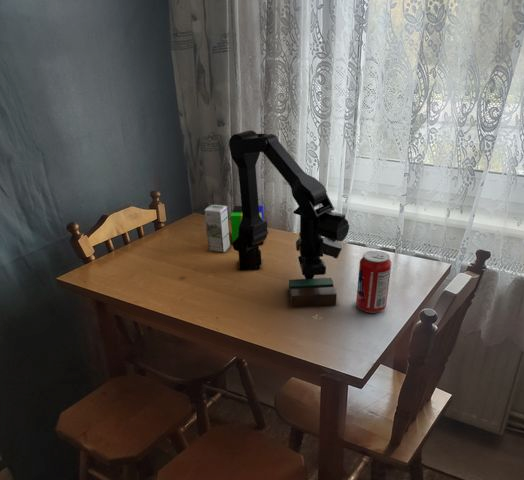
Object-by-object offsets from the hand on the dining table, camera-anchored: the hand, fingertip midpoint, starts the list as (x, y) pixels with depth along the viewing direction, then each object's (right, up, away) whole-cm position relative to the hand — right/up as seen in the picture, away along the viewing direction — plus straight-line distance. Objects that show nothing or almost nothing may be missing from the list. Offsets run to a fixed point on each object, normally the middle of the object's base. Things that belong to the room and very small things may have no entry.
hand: (309, 283), depth 141 cm
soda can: (+15, -8, -10) cm, 20 cm away
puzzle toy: (-18, +19, +32) cm, 42 cm away
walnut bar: (0, -6, -7) cm, 9 cm away
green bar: (0, -3, -2) cm, 4 cm away
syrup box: (-28, +14, +26) cm, 41 cm away
